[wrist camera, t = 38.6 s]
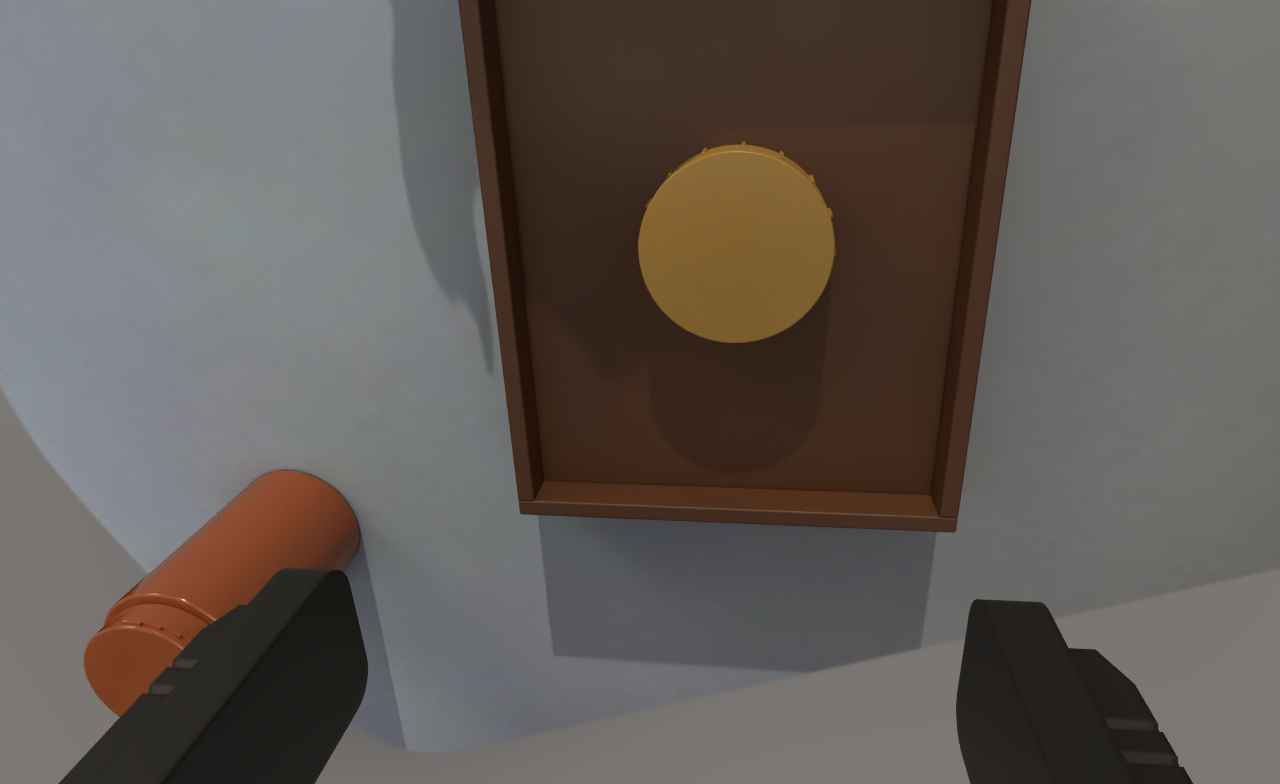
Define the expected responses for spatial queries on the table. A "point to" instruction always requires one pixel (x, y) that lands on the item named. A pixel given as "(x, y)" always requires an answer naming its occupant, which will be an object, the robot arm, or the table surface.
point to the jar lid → (736, 244)
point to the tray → (837, 323)
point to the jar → (218, 577)
